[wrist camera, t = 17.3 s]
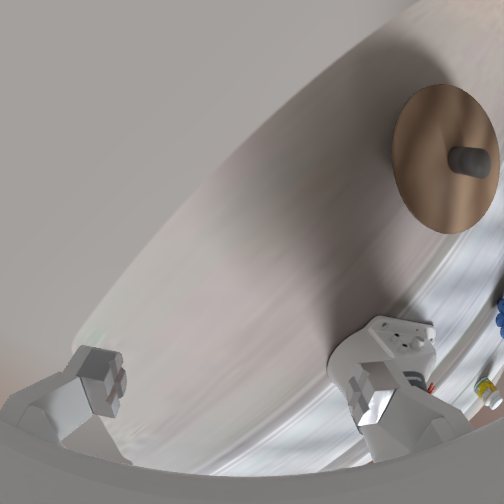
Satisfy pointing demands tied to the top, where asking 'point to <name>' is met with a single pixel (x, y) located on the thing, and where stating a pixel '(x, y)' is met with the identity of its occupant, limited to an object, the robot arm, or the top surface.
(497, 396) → the supplement bottle
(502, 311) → the grapes
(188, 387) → the top surface
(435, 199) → the lid
